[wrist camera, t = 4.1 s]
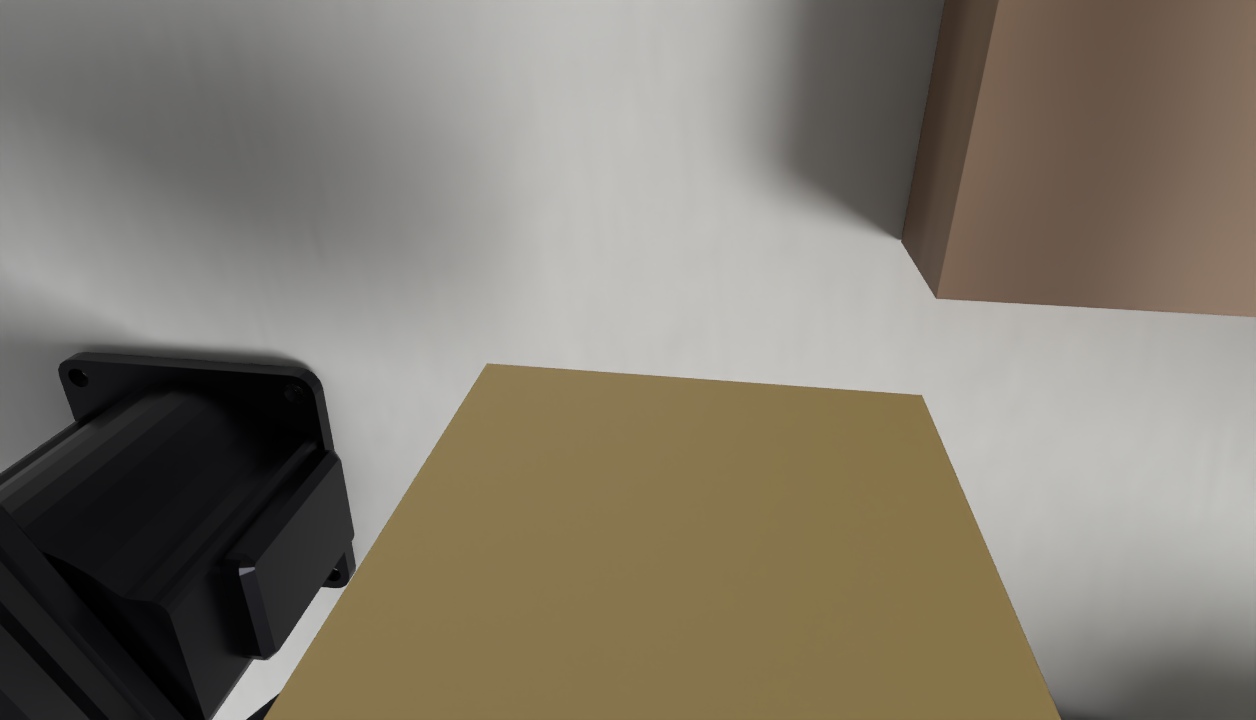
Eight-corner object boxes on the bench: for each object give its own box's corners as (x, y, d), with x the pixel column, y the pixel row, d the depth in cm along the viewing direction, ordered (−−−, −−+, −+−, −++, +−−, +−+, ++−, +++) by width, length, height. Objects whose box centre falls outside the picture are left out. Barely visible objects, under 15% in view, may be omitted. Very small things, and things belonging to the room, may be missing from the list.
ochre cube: (509, 663, 11) (367, 1100, 7) (486, 363, 9) (255, 730, 5) (855, 702, 11) (935, 1201, 7) (921, 395, 9) (1111, 839, 4)
